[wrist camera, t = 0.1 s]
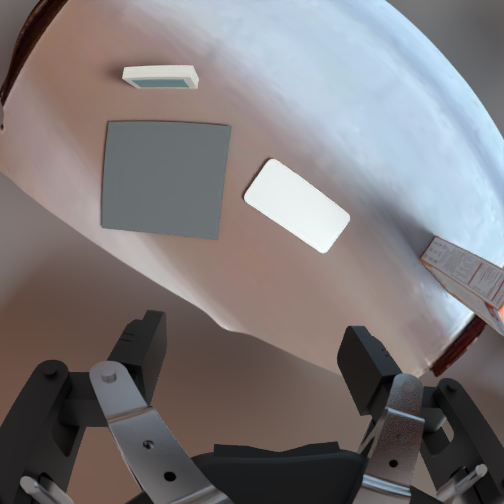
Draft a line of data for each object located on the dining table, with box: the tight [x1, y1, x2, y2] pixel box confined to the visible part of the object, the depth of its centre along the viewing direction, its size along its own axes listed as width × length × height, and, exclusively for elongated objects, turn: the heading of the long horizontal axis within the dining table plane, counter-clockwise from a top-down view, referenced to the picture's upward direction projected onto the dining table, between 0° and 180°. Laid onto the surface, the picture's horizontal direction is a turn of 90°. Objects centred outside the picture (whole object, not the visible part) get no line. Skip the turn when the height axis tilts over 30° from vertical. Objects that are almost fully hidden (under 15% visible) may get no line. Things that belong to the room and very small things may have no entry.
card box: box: [122, 65, 199, 89], centre depth 30 cm, size 2×9×6 cm, turn 82°
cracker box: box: [420, 236, 504, 336], centre depth 34 cm, size 14×6×21 cm, turn 54°
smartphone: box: [244, 159, 350, 253], centre depth 39 cm, size 7×1×15 cm
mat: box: [102, 121, 231, 240], centre depth 37 cm, size 16×18×1 cm
